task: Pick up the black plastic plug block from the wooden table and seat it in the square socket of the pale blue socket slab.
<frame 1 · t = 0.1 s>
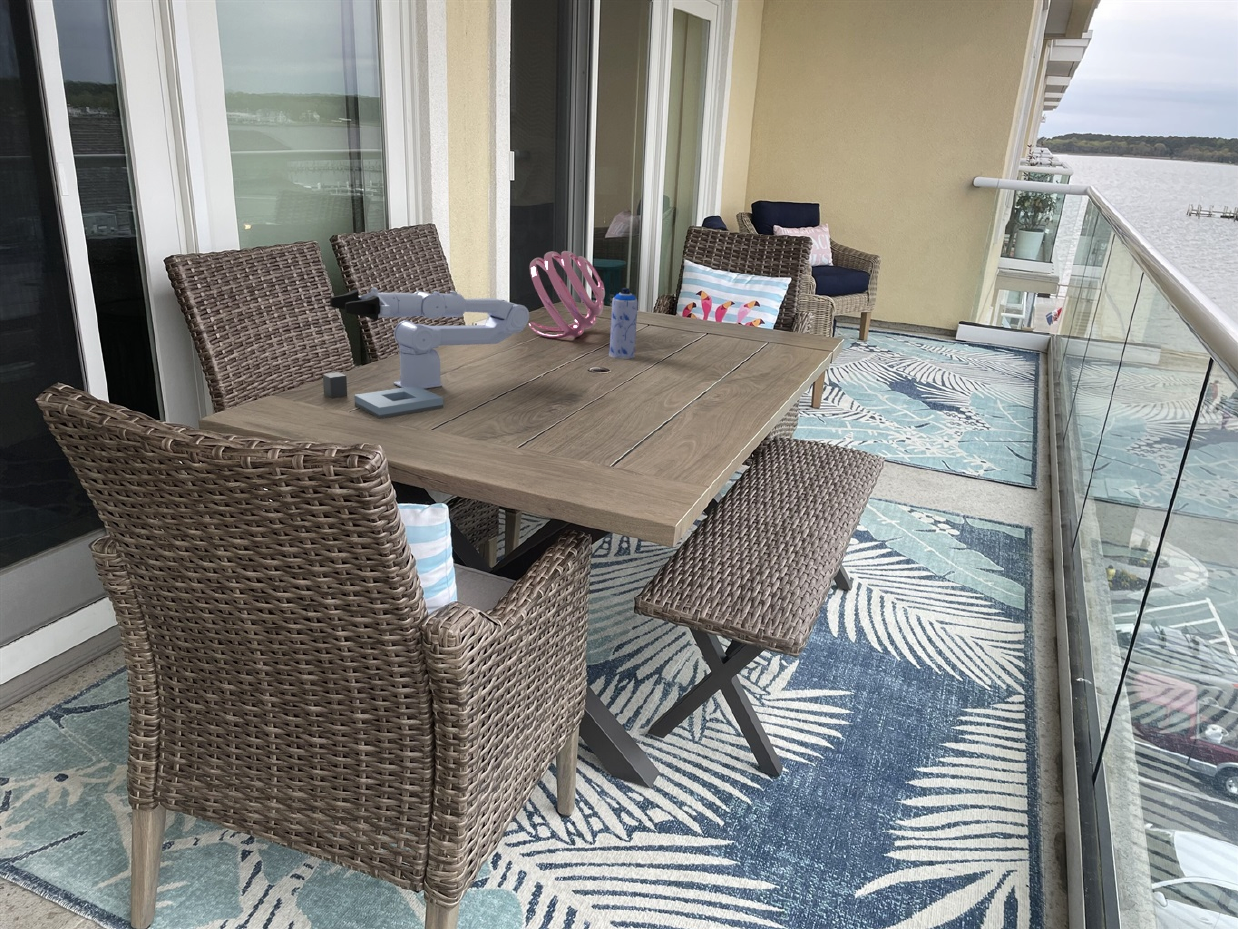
hand: (338, 305, 204), 22 cm above the table, tool horizontal, fingers open, 7 cm apart
plug: (335, 395, 213), on the table
pale blue socket slab: (399, 406, 207), on the table
spiral basket: (565, 336, 290), on the table
aerosol can: (621, 356, 268), on the table
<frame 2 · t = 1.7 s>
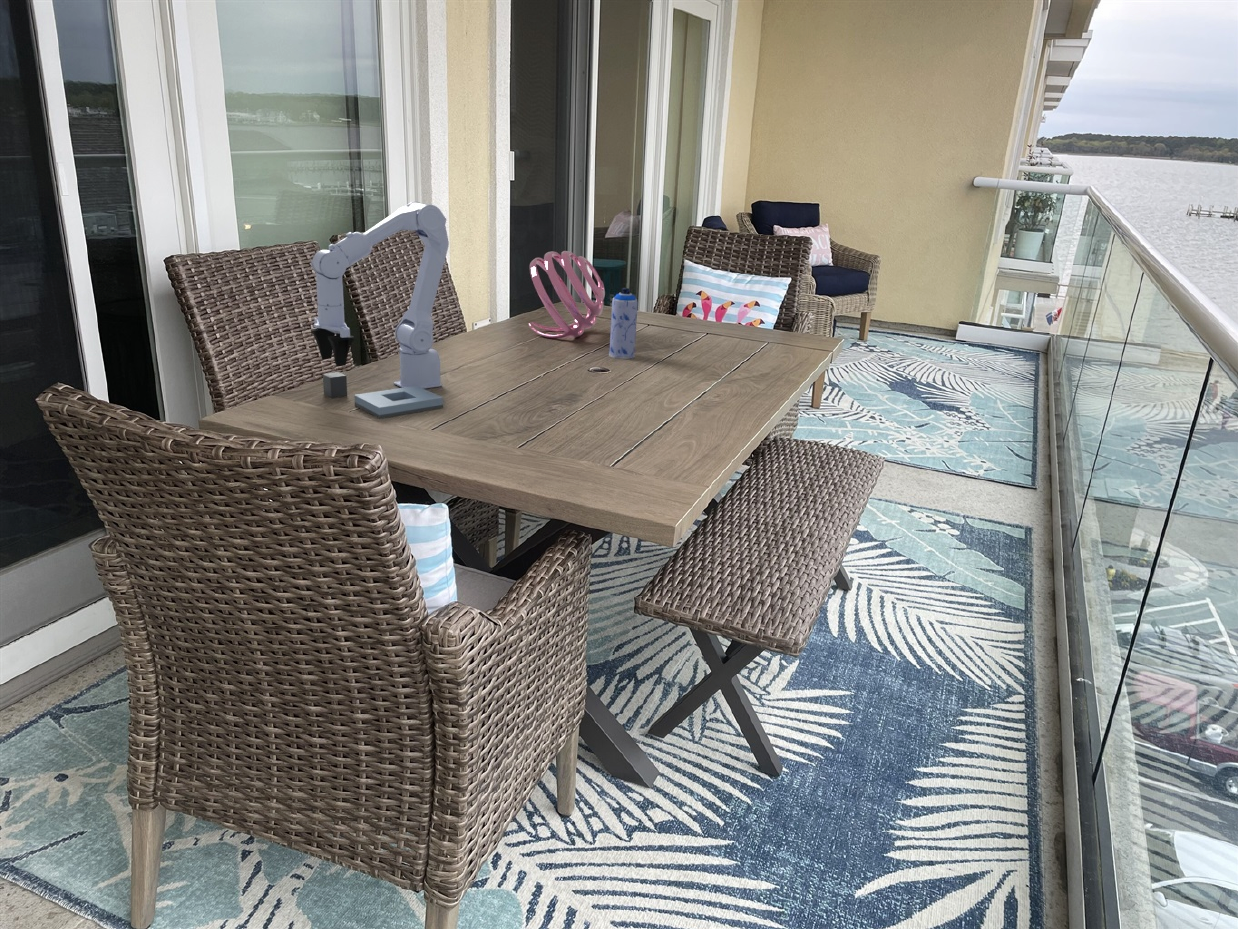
hand: (333, 362, 210), 8 cm above the table, tool pointing down, fingers open, 7 cm apart
nothing on the table moved.
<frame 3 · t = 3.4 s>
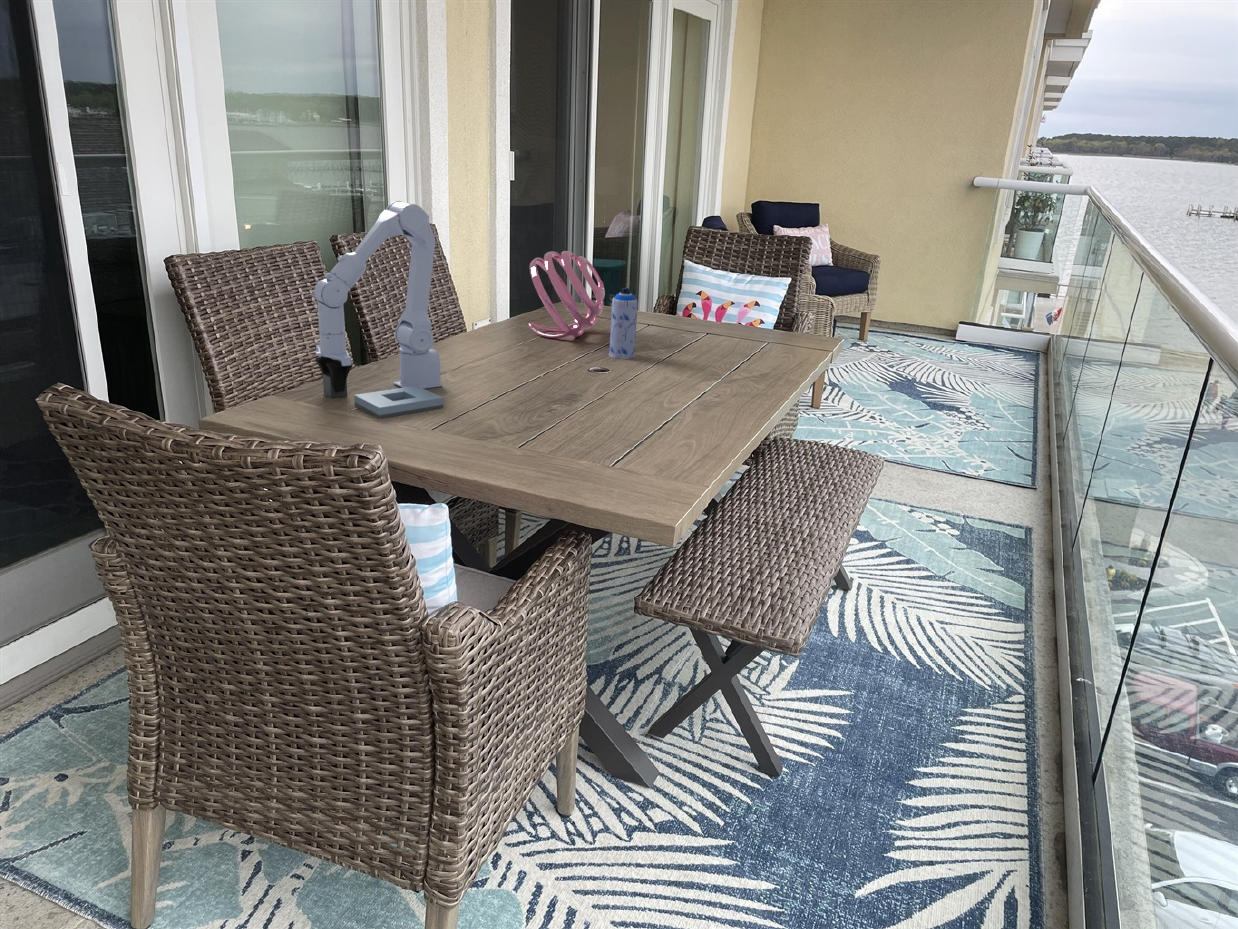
hand: (335, 389, 212), 1 cm above the table, tool pointing down, fingers closed on plug, 4 cm apart
plug: (335, 395, 213), on the table, touching gripper
everything else where it was.
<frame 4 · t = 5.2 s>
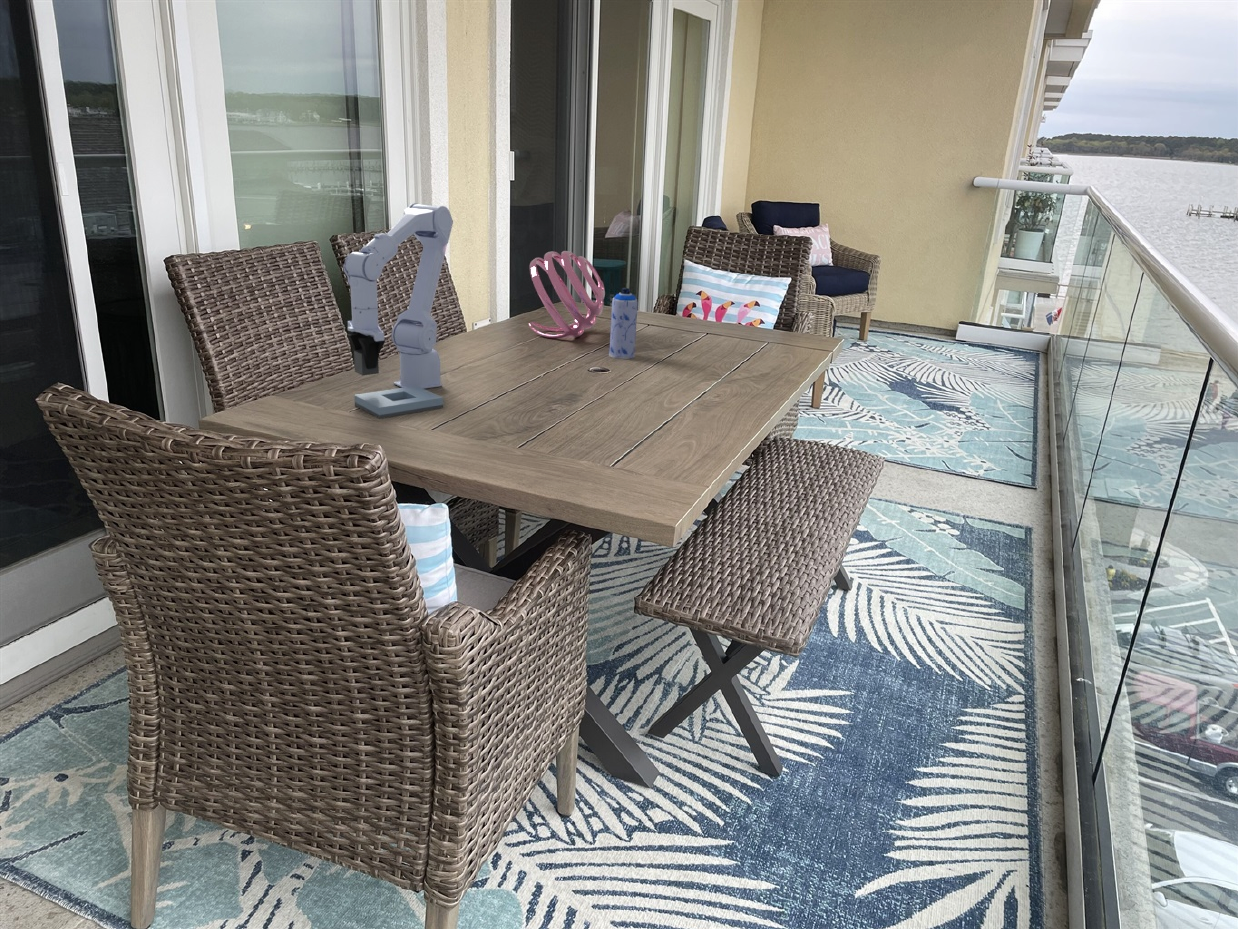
hand: (367, 365, 207), 8 cm above the table, tool pointing down, fingers closed on plug, 4 cm apart
plug: (366, 372, 207), point 7 cm above the table, touching gripper
everything else where it was.
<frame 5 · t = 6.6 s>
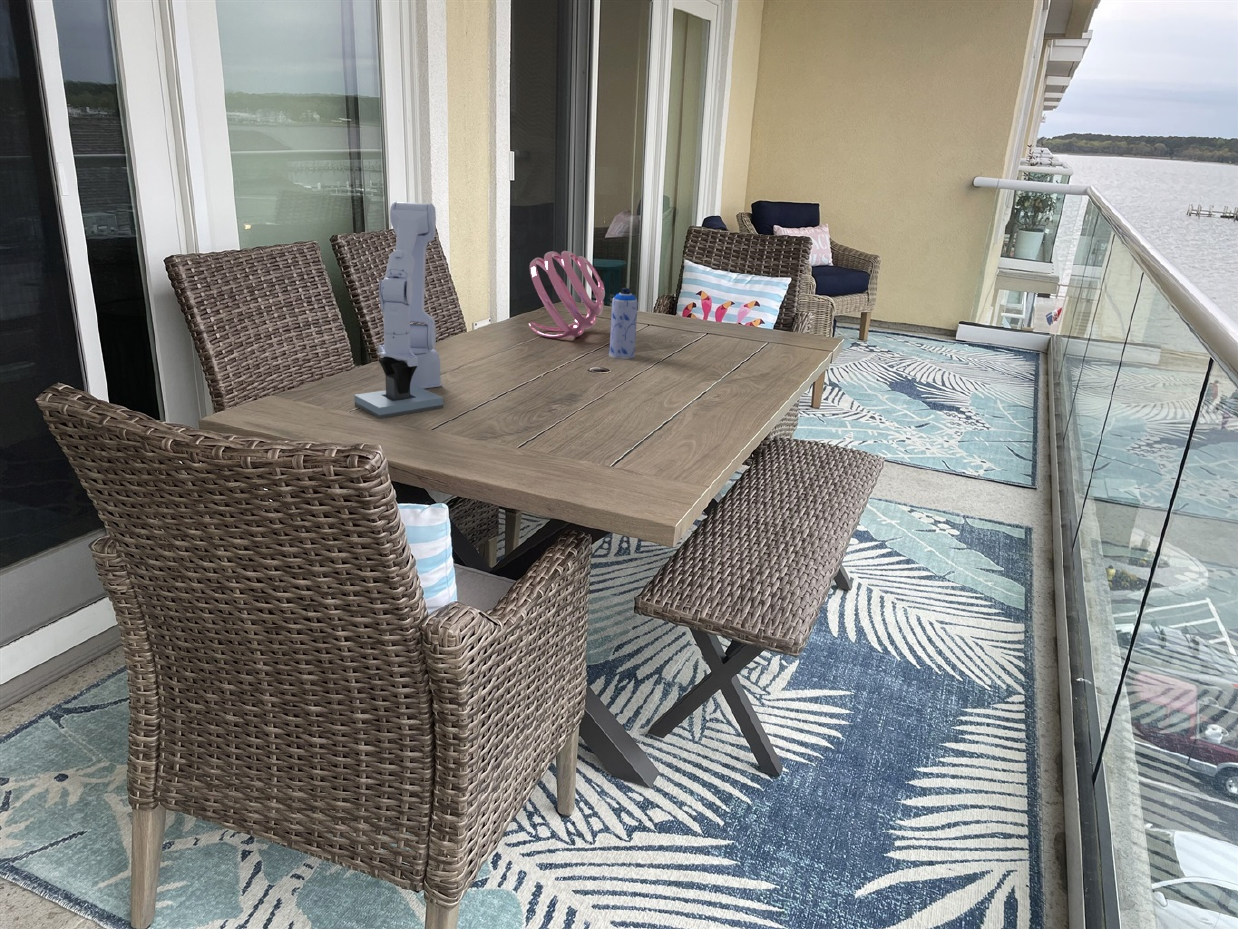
hand: (398, 390, 205), 4 cm above the table, tool pointing down, fingers closed on plug, 4 cm apart
plug: (398, 397, 206), point 2 cm above the table, touching gripper
everything else where it was.
when the fingers open (3 cm above the table, at t = 7.5 s): plug drops 1 cm, resting on pale blue socket slab.
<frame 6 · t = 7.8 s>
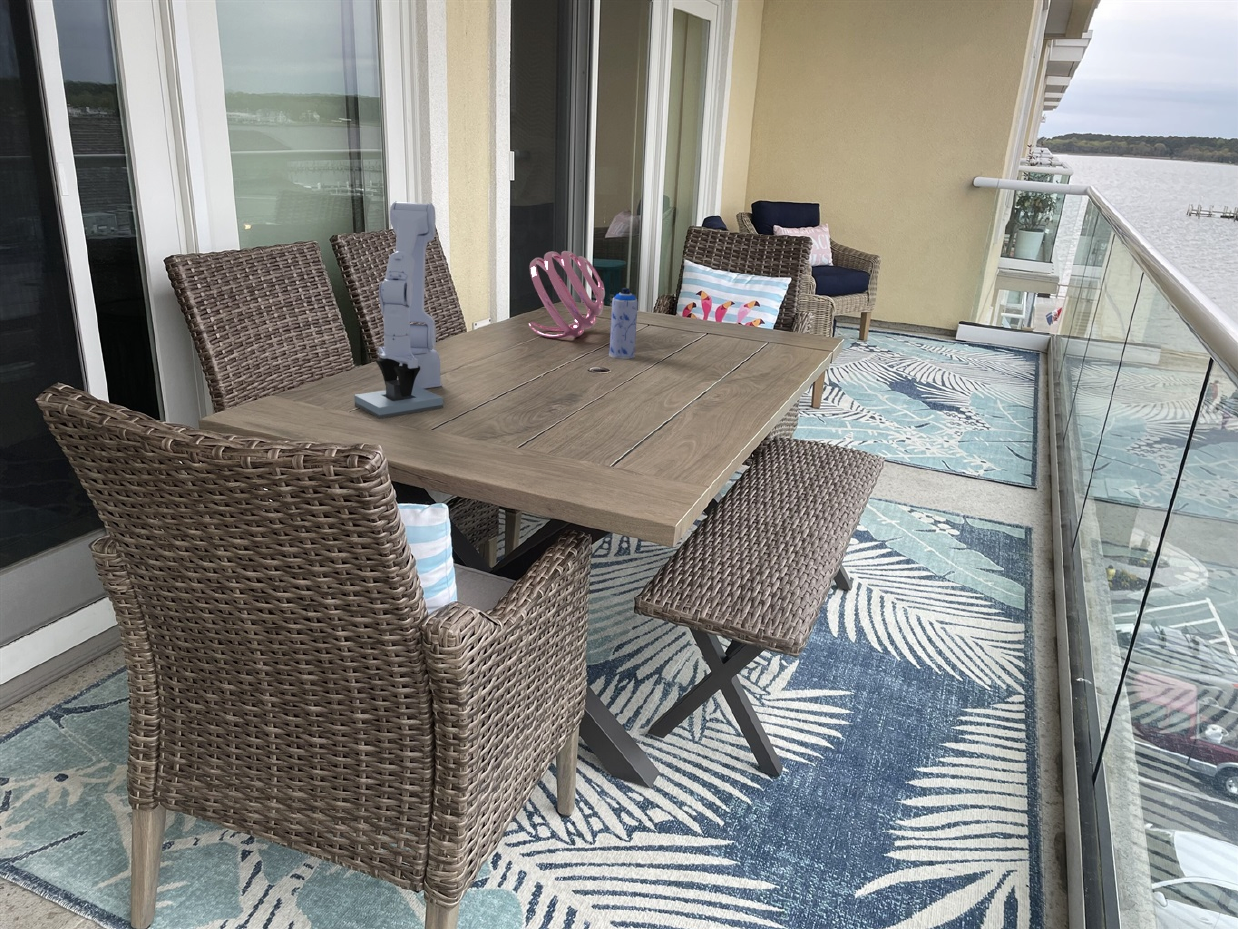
hand: (398, 392, 205), 3 cm above the table, tool pointing down, fingers open, 6 cm apart
plug: (398, 403, 206), point 1 cm above the table, touching pale blue socket slab
everything else where it was.
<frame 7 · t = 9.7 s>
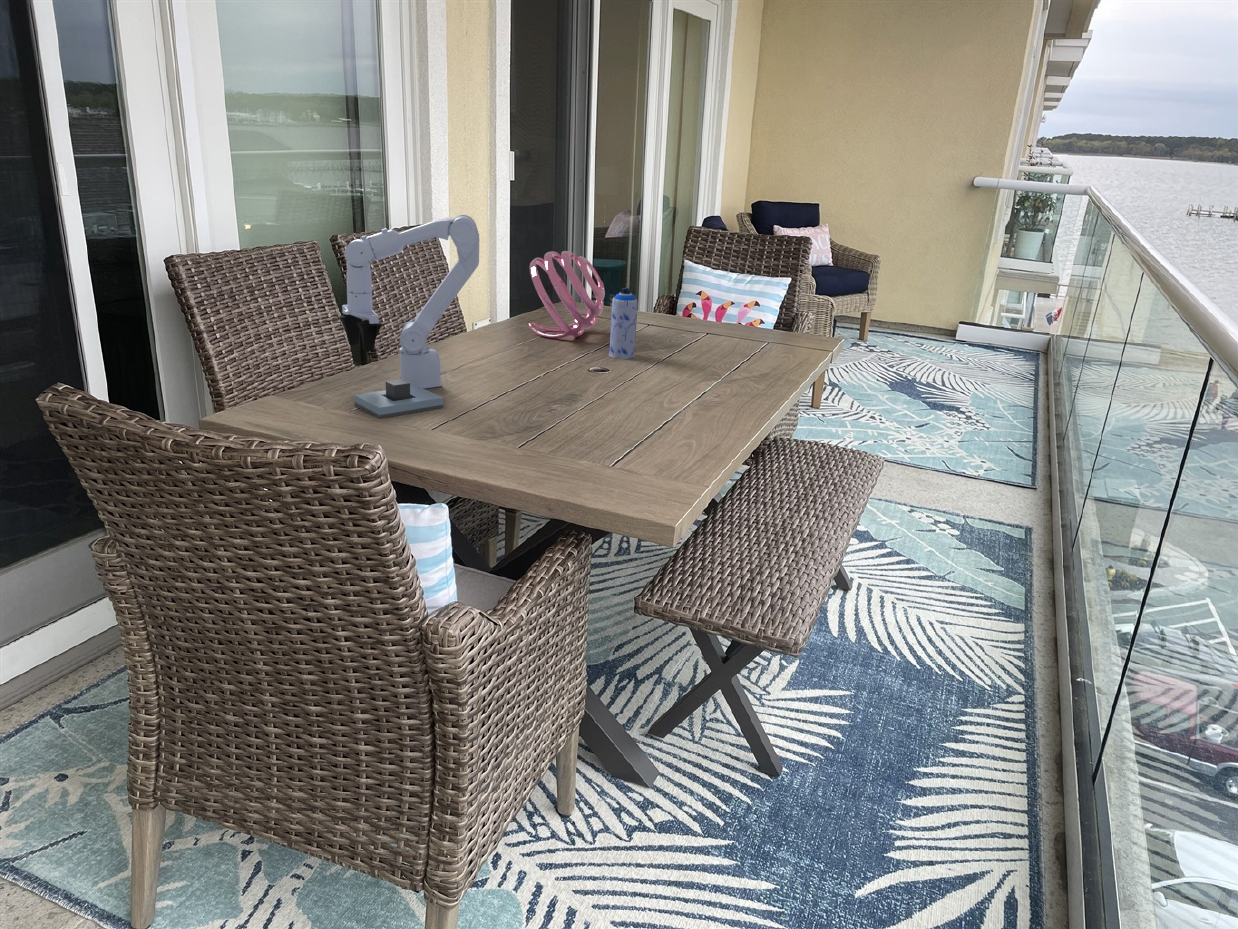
hand: (361, 347, 219), 9 cm above the table, tool pointing down, fingers open, 7 cm apart
nothing on the table moved.
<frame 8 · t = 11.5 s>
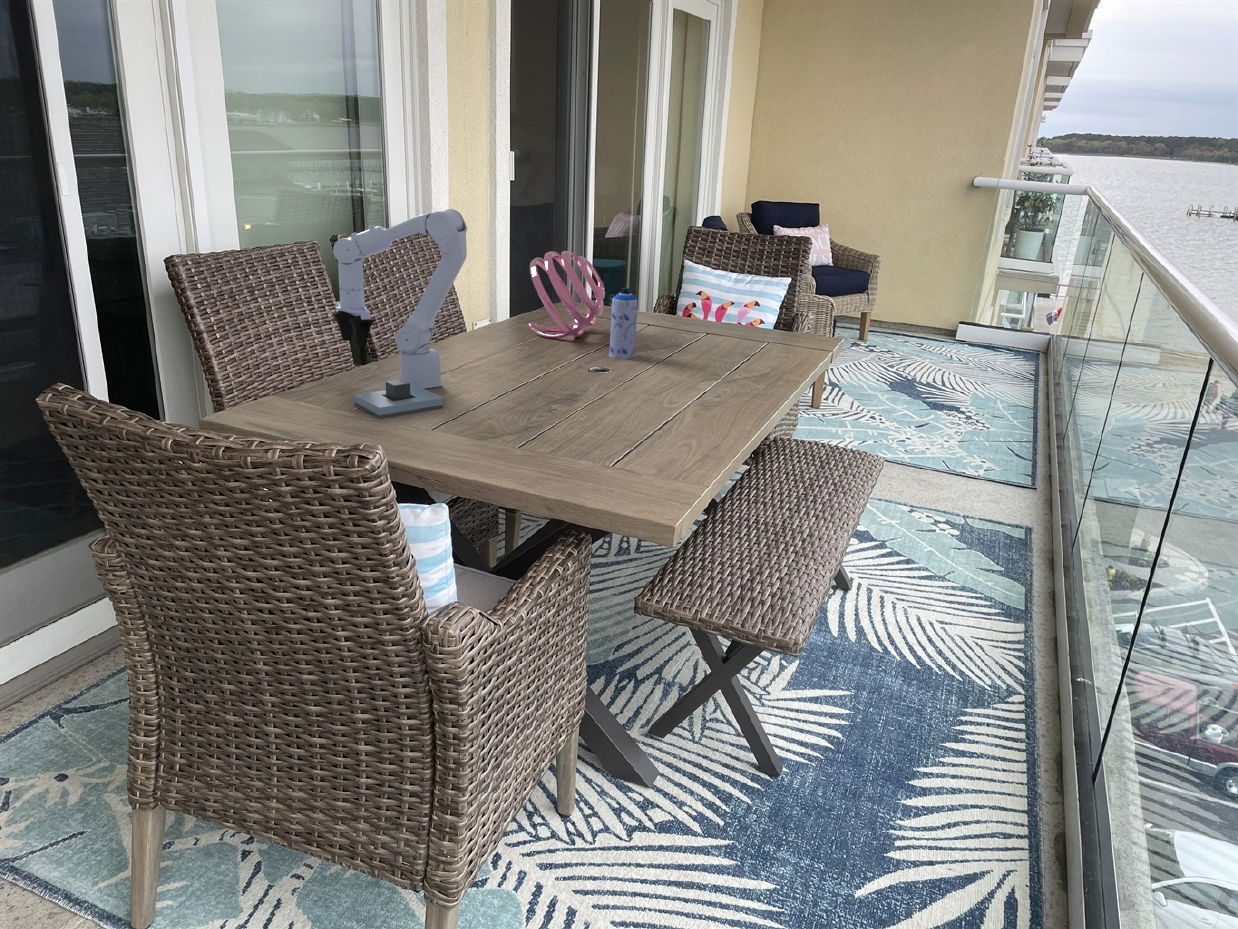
hand: (354, 343, 223), 9 cm above the table, tool pointing down, fingers open, 7 cm apart
nothing on the table moved.
at the end: plug 0.1 cm off-centre on the pale blue socket slab, point 0.8 cm above the pale blue socket slab's base; plug tilted 0°; the gripper is holding nothing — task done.
